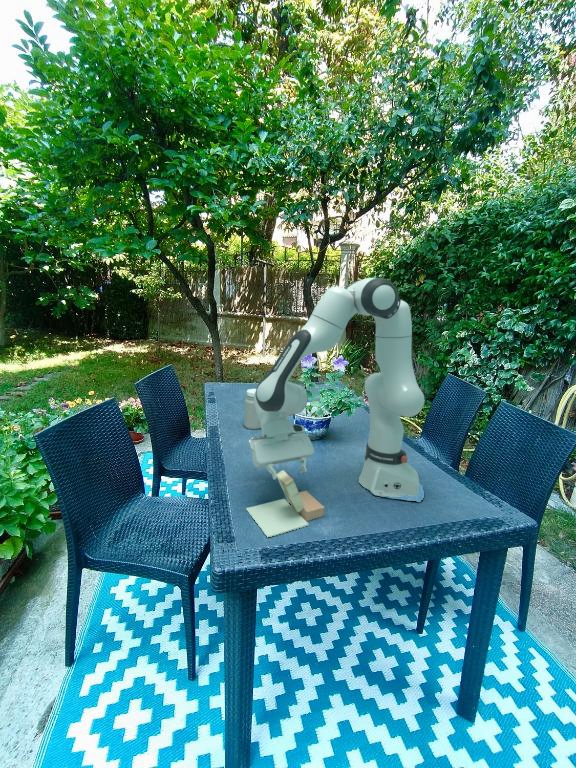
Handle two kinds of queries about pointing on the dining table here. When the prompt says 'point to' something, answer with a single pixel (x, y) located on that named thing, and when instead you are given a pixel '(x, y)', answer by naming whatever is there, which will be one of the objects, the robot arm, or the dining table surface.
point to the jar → (251, 412)
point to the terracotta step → (310, 507)
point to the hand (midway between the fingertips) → (290, 475)
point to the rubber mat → (276, 517)
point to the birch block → (290, 490)
